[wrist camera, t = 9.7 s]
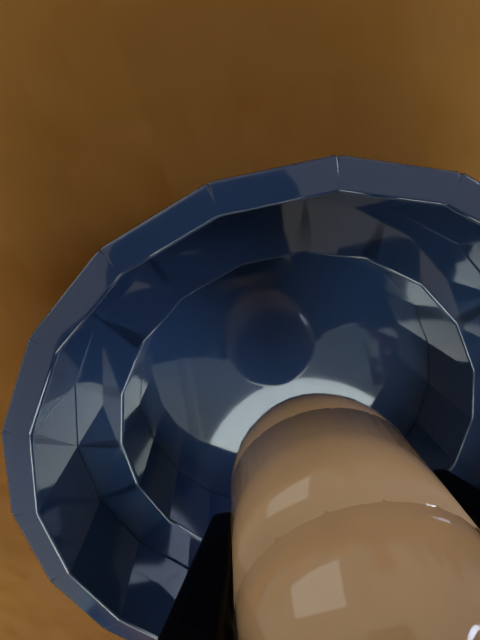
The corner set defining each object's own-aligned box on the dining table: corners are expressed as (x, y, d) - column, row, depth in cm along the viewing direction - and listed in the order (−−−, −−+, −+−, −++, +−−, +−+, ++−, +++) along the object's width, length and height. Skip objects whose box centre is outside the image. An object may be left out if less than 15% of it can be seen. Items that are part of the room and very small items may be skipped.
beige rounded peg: (380, 473, 11) (631, 890, 4) (244, 500, 11) (279, 954, 4) (370, 347, 9) (728, 680, 3) (213, 380, 9) (193, 781, 3)
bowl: (466, 491, 15) (581, 624, 10) (153, 553, 15) (122, 713, 10) (475, 138, 10) (694, 77, 6) (26, 233, 10) (-136, 254, 6)
